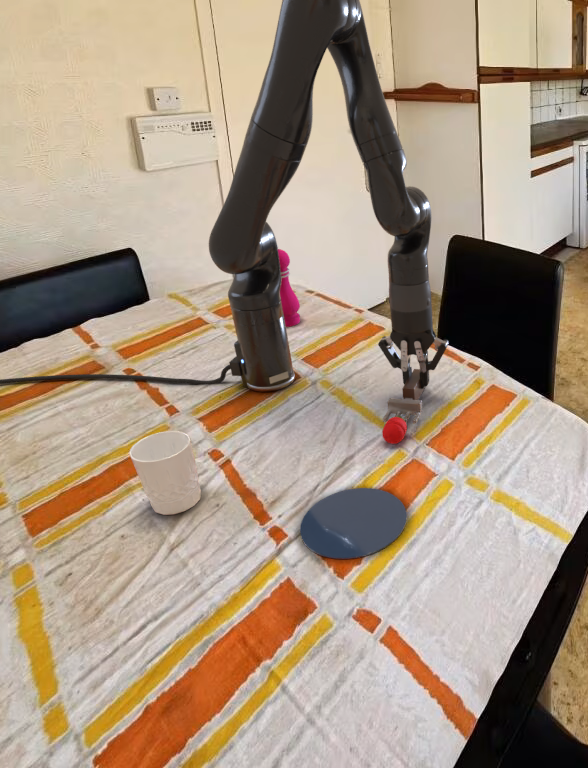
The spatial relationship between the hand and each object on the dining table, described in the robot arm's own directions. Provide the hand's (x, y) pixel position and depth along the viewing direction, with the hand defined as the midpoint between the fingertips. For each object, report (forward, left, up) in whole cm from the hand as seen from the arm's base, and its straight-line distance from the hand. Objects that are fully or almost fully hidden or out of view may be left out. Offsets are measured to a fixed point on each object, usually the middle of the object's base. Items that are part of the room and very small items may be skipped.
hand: (416, 386), depth 121 cm
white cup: (-28, -36, -2) cm, 46 cm away
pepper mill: (-41, +32, -2) cm, 52 cm away
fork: (0, -5, -1) cm, 5 cm away
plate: (0, -37, -2) cm, 37 cm away
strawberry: (0, -16, -2) cm, 16 cm away
